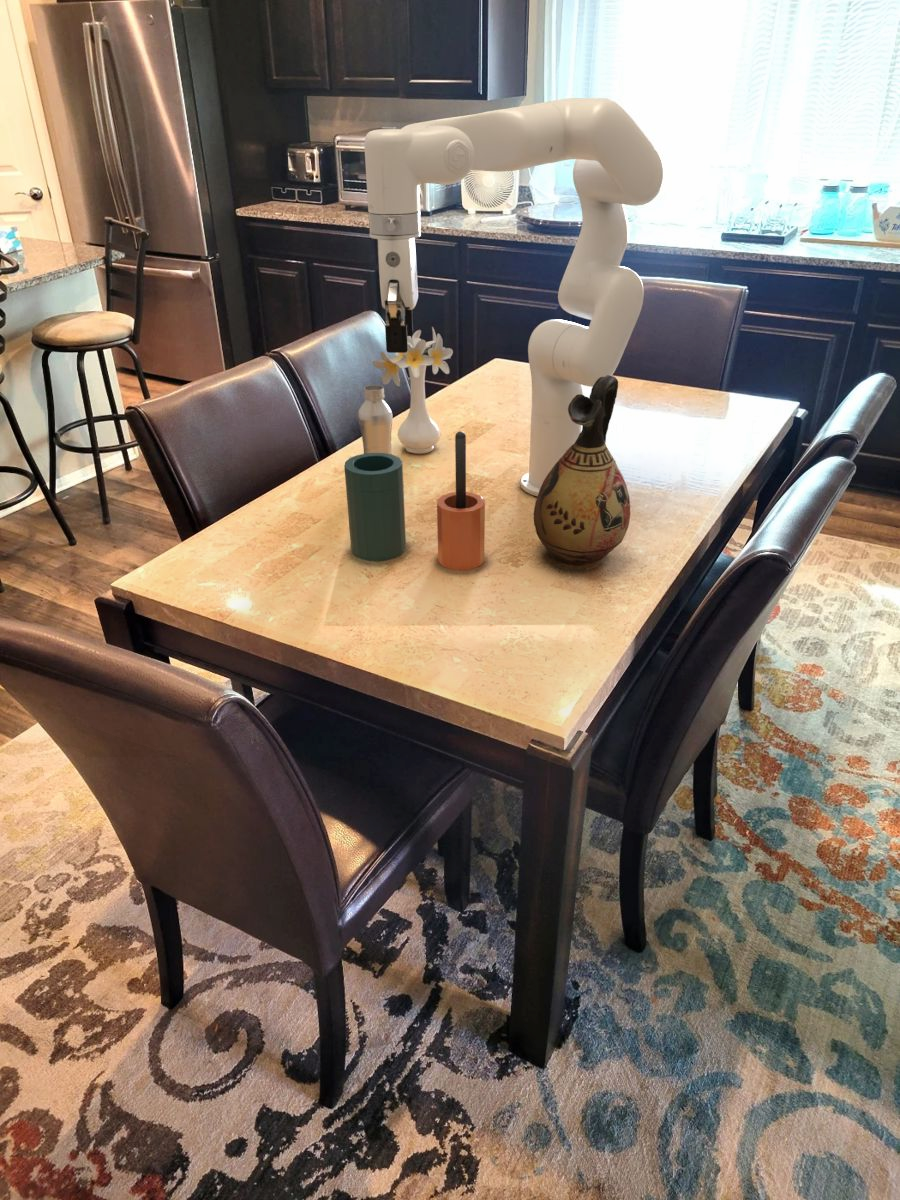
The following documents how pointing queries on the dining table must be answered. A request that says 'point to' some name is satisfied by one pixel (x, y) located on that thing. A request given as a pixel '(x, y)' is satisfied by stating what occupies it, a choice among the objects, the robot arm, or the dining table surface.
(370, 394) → the metal bottle
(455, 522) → the crock
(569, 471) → the ceramic jug
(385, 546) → the teal hollow cylinder
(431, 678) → the dining table surface
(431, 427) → the flower vase
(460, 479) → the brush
